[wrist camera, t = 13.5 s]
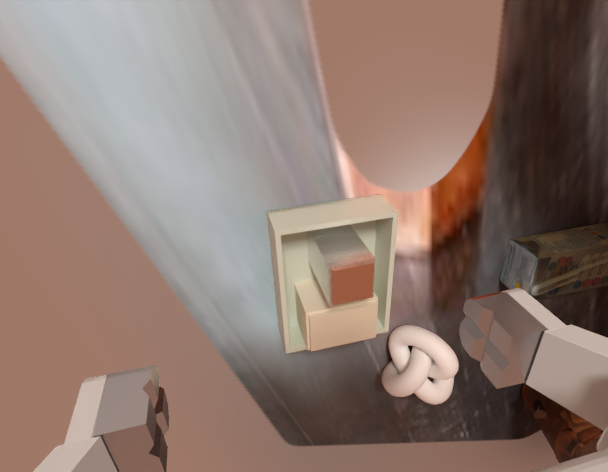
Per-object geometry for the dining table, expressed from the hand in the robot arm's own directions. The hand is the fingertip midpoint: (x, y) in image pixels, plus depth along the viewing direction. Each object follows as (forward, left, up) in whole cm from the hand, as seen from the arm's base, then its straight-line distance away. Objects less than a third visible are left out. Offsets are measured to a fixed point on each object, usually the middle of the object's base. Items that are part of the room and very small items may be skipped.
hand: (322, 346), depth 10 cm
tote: (-10, +22, -34) cm, 42 cm away
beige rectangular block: (-10, +26, -34) cm, 44 cm away
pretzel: (-23, +39, -34) cm, 57 cm away
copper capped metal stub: (-10, +18, -34) cm, 39 cm away
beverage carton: (-47, +27, -35) cm, 64 cm away
